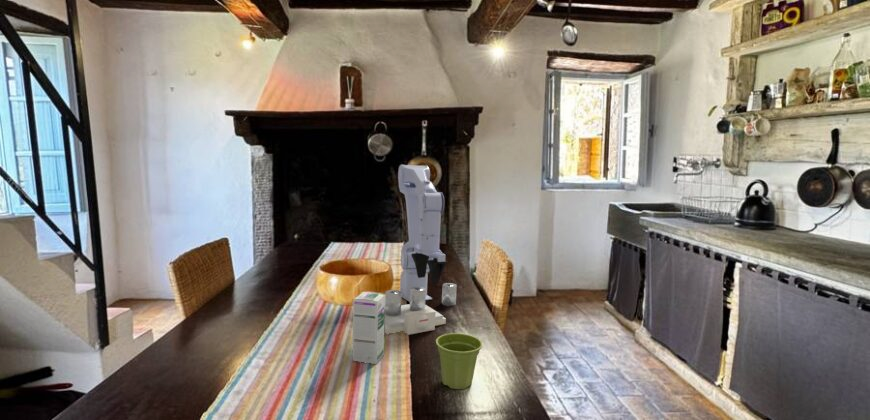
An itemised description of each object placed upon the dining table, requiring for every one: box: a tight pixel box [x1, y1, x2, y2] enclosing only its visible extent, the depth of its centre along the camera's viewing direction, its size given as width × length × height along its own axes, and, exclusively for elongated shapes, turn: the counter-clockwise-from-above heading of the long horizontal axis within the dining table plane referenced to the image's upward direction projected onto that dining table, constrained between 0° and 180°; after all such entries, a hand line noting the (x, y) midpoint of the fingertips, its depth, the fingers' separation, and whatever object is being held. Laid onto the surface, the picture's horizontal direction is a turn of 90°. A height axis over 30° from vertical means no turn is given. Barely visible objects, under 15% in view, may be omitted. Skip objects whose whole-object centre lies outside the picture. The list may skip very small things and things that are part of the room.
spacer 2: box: [409, 287, 427, 312], centre depth 126 cm, size 4×4×6 cm
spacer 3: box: [441, 282, 458, 307], centre depth 140 cm, size 4×4×6 cm
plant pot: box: [435, 332, 483, 390], centre depth 91 cm, size 9×9×9 cm
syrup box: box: [352, 291, 386, 365], centre depth 100 cm, size 6×6×14 cm
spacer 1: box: [384, 289, 403, 316], centre depth 122 cm, size 4×4×6 cm
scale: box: [385, 303, 447, 336], centre depth 122 cm, size 15×18×5 cm
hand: (427, 280), depth 129 cm, fingers open, 7 cm apart
